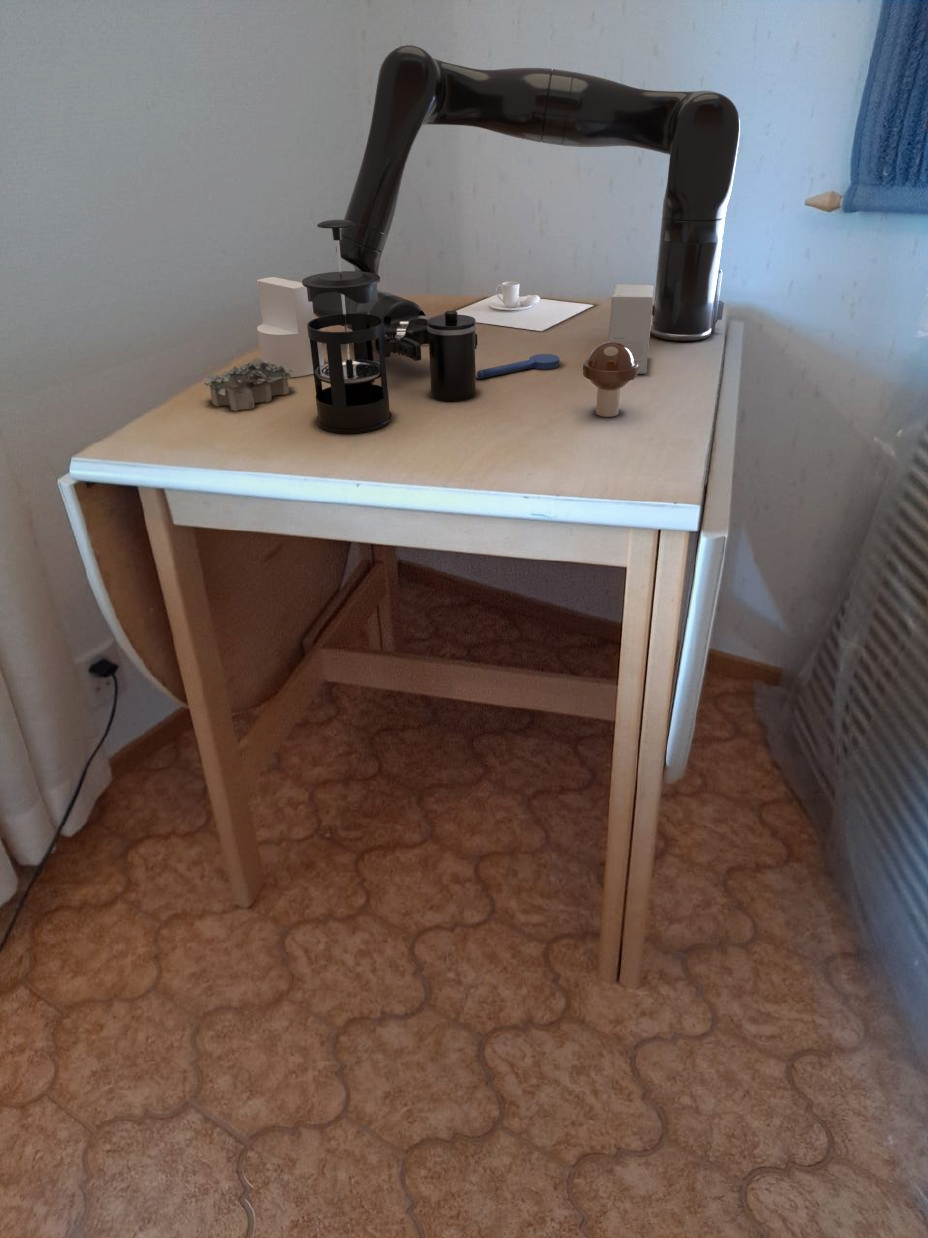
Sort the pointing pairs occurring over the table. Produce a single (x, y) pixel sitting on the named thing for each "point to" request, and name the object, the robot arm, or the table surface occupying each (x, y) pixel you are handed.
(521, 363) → the round blue paddle
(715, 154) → the robot arm
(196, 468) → the table surface
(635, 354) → the small box
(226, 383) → the egg carton
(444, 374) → the pot
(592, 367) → the mushroom
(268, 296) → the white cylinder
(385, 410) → the french press
